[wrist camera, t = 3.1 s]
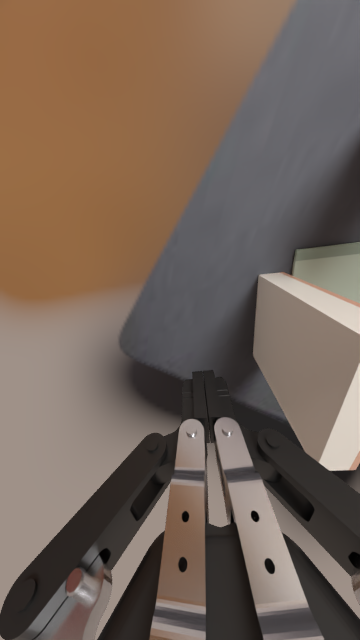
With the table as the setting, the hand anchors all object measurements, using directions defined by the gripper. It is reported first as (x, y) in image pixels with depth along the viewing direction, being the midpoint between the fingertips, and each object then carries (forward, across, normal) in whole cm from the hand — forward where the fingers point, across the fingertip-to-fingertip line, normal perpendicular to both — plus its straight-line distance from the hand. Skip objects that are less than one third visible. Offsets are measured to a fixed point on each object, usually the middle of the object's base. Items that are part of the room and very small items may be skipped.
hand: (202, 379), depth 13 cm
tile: (+9, -8, 0) cm, 12 cm away
